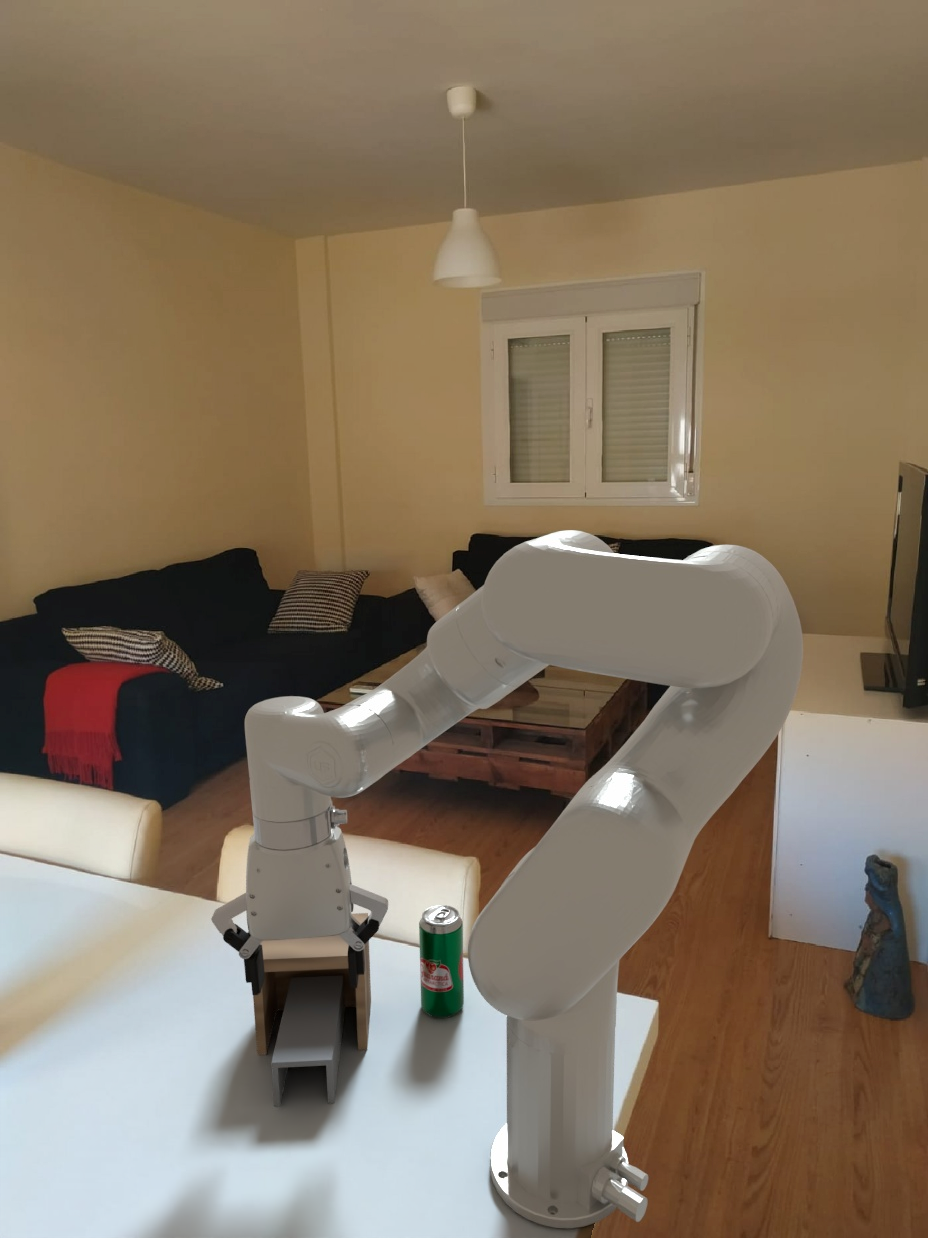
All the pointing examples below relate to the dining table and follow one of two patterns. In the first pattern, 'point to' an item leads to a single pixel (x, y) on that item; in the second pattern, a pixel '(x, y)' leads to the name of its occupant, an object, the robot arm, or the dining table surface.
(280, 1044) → the grey u-shaped piece
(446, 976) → the soda can
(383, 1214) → the dining table surface
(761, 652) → the robot arm
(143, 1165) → the dining table surface
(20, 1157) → the dining table surface
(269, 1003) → the shelf
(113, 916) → the dining table surface
